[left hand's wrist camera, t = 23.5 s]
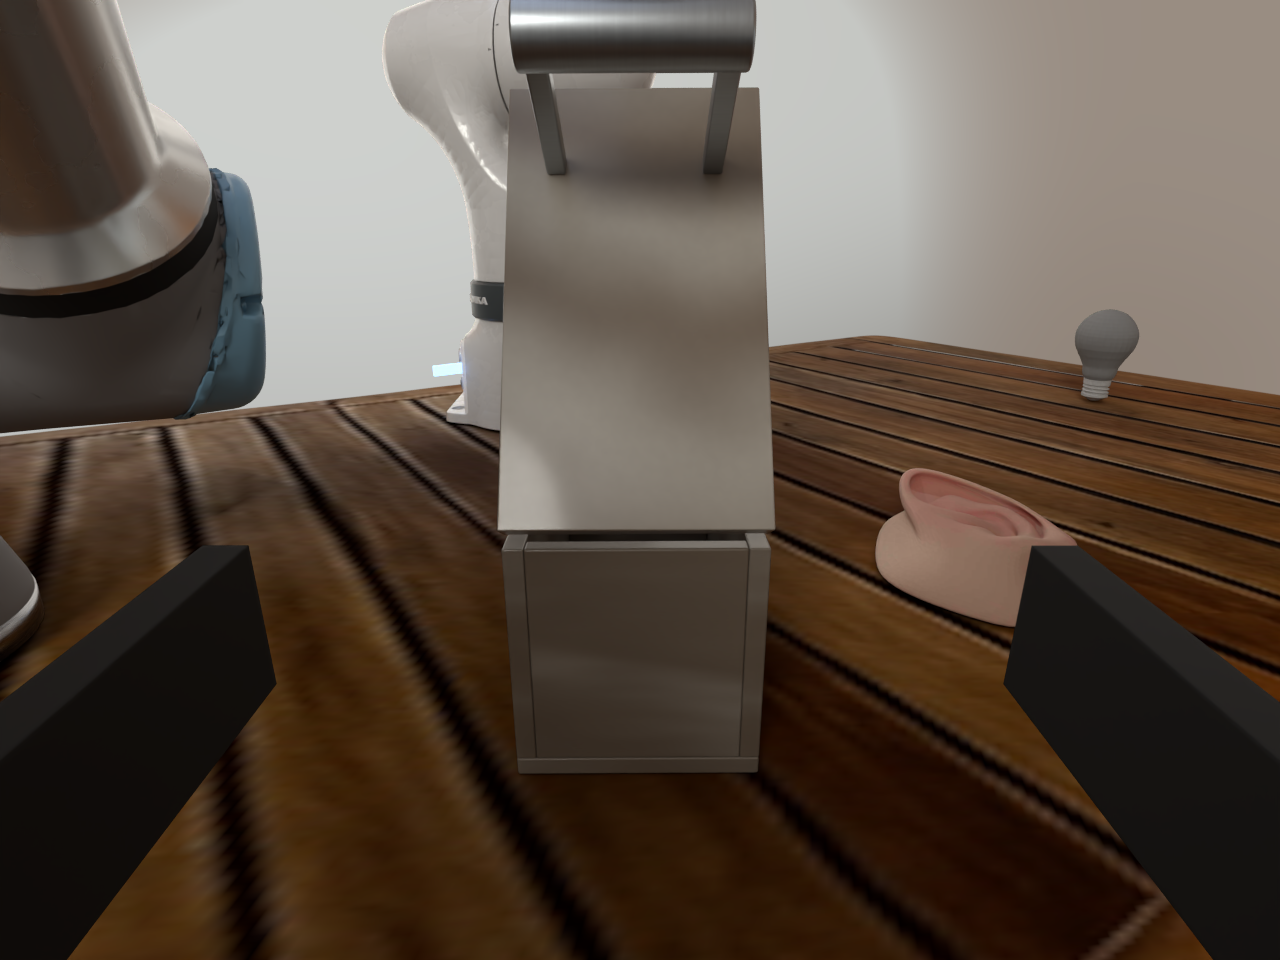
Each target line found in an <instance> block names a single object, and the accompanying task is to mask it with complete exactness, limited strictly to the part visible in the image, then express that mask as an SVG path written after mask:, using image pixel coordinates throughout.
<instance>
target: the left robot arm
mask: <svg viewBox="0 0 1280 960" xmlns="http://www.w3.org/2000/svg"><path fill="white" fill-rule="evenodd" d="M262 299H263V296H262V272H261V261H260V251H259V242H258V234H257V226H256V219H255V213H254V207H253V202H252V197H251V194H250V190H249V187H248V186H247V184H246V183H245V182H244V180H243V179H242V178H240V177H238V176H237V175H234V174H230V173H224V172H222V171H220V170H219V169H217V168H213V169H212V168H211V169H210V168H208V165H207V163H206V161H205V159H204V156H203V154H202V152H201V150H200V148H199V146H198V145H197V143H196V141H195V140H194V139H193V137H192V136H191V135H190V134H189V133H188V132H187V130H186V129H185V128H184V127H183V126H182V125H180V124H179V123H178V122H177V121H176V120H175V119H174V118H172V117H171V116H170V115H168V114H167V113H166V112H164V111H163V110H161V109H160V108H158V107H157V106H155V105H153V104H151V103H150V102H148V101H147V98H146V95H145V92H144V89H143V85H142V82H141V79H140V75H139V72H138V69H137V66H136V62H135V59H134V56H133V52H132V49H131V46H130V42H129V39H128V36H127V32H126V29H125V26H124V23H123V19H122V16H121V13H120V9H119V6H118V3H117V0H0V433H8V432H18V431H28V430H39V429H49V428H61V427H73V426H85V425H96V424H108V423H120V422H132V421H144V420H156V419H168V418H174V419H175V420H176V419H188V418H191V417H193V416H195V415H196V414H200V413H207V412H214V411H221V410H228V409H234V408H239V407H242V406H245V405H246V404H248V403H250V402H251V401H252V400H254V399H255V398H256V396H257V395H258V394H259V393H260V391H261V389H262V386H263V383H264V378H265V367H266V339H265V319H264V310H263V306H262V304H261V302H262ZM43 617H44V605H43V602H42V599H41V596H40V592H39V589H38V586H37V583H36V580H35V578H34V576H33V575H32V574H31V573H30V571H29V569H28V567H27V566H26V565H25V564H24V563H23V562H22V560H21V559H20V558H19V557H18V556H17V554H16V553H15V552H14V551H13V550H12V549H11V547H10V546H9V545H8V544H7V543H6V542H5V540H4V539H3V538H2V537H1V536H0V662H1V661H2V660H4V659H5V658H6V657H8V656H9V655H10V654H12V653H13V652H14V651H16V650H17V649H18V648H19V647H20V646H22V645H23V644H24V643H25V642H26V641H27V640H28V639H29V638H30V637H31V636H32V635H33V634H34V633H35V631H36V630H37V629H38V627H39V626H40V624H41V622H42V620H43ZM275 685H276V679H275V674H274V669H273V664H272V659H271V654H270V649H269V645H268V640H267V635H266V630H265V625H264V620H263V615H262V610H261V605H260V600H259V595H258V590H257V586H256V581H255V576H254V571H253V566H252V561H251V556H250V551H249V546H201V547H200V548H199V549H198V550H196V551H195V552H194V553H192V554H191V555H190V556H189V557H187V558H186V559H185V560H183V561H182V562H181V563H179V564H178V565H177V566H176V567H174V568H173V569H172V570H170V571H169V572H168V573H167V574H165V575H164V576H163V577H161V578H160V579H159V580H158V581H156V582H155V583H154V584H152V585H151V586H150V587H149V588H147V589H146V590H145V591H143V592H142V593H141V594H140V595H138V596H137V597H136V598H134V599H133V600H132V601H130V602H129V603H128V604H127V605H125V606H124V607H123V608H121V609H120V610H119V611H118V612H116V613H115V614H114V615H112V616H111V617H110V618H109V619H107V620H106V621H105V622H103V623H102V624H101V625H100V626H98V627H97V628H96V629H94V630H93V631H92V632H91V633H89V634H88V635H87V636H85V637H84V638H83V639H82V640H80V641H79V642H78V643H76V644H75V645H74V646H72V647H71V648H70V649H69V650H67V651H66V652H65V653H63V654H62V655H61V656H60V657H58V658H57V659H56V660H54V661H53V662H52V663H51V664H49V665H48V666H47V667H45V668H44V669H43V670H42V671H40V672H39V673H38V674H36V675H35V676H34V677H33V678H31V679H30V680H29V681H27V682H26V683H25V684H23V685H22V686H21V687H20V688H18V689H17V690H16V691H14V692H13V693H12V694H11V695H9V696H8V697H7V698H5V699H4V700H3V701H2V702H0V960H67V959H68V957H69V956H70V955H71V953H72V952H73V951H74V950H75V948H76V947H77V946H78V944H79V943H80V942H81V940H82V939H83V938H84V936H85V935H86V934H87V932H88V931H89V930H90V928H91V927H92V926H93V925H94V923H95V922H96V921H97V919H98V918H99V917H100V915H101V914H102V913H103V911H104V910H105V909H106V907H107V906H108V905H109V904H110V902H111V901H112V900H113V898H114V897H115V896H116V894H117V893H118V892H119V890H120V889H121V888H122V886H123V885H124V884H125V882H126V881H127V880H128V879H129V877H130V876H131V875H132V873H133V872H134V871H135V869H136V868H137V867H138V865H139V864H140V863H141V861H142V860H143V859H144V858H145V856H146V855H147V854H148V852H149V851H150V850H151V848H152V847H153V846H154V844H155V843H156V842H157V840H158V839H159V838H160V836H161V835H162V834H163V833H164V831H165V830H166V829H167V827H168V826H169V825H170V823H171V822H172V821H173V819H174V818H175V817H176V815H177V814H178V813H179V812H180V810H181V809H182V808H183V806H184V805H185V804H186V802H187V801H188V800H189V798H190V797H191V796H192V794H193V793H194V792H195V790H196V789H197V788H198V787H199V785H200V784H201V783H202V781H203V780H204V779H205V777H206V776H207V775H208V773H209V772H210V771H211V769H212V768H213V767H214V766H215V764H216V763H217V762H218V760H219V759H220V758H221V756H222V755H223V754H224V752H225V751H226V750H227V748H228V747H229V746H230V744H231V743H232V742H233V741H234V739H235V738H236V737H237V735H238V734H239V733H240V731H241V730H242V729H243V727H244V726H245V725H246V723H247V722H248V721H249V720H250V718H251V717H252V716H253V714H254V713H255V712H256V710H257V709H258V708H259V706H260V705H261V704H262V702H263V701H264V700H265V698H266V697H267V696H268V695H269V693H270V692H271V691H272V689H273V688H274V687H275ZM1004 685H1005V687H1006V688H1007V689H1008V691H1009V692H1010V693H1011V695H1012V696H1013V697H1014V698H1015V700H1016V701H1017V702H1018V704H1019V705H1020V706H1021V708H1022V709H1023V710H1024V712H1025V713H1026V714H1027V716H1028V717H1029V718H1030V720H1031V721H1032V722H1033V723H1034V725H1035V726H1036V727H1037V729H1038V730H1039V731H1040V733H1041V734H1042V735H1043V737H1044V738H1045V739H1046V741H1047V742H1048V743H1049V744H1050V746H1051V747H1052V748H1053V750H1054V751H1055V752H1056V754H1057V755H1058V756H1059V758H1060V759H1061V760H1062V762H1063V763H1064V764H1065V766H1066V767H1067V768H1068V769H1069V771H1070V772H1071V773H1072V775H1073V776H1074V777H1075V779H1076V780H1077V781H1078V783H1079V784H1080V785H1081V787H1082V788H1083V789H1084V790H1085V792H1086V793H1087V794H1088V796H1089V797H1090V798H1091V800H1092V801H1093V802H1094V804H1095V805H1096V806H1097V808H1098V809H1099V810H1100V812H1101V813H1102V814H1103V815H1104V817H1105V818H1106V819H1107V821H1108V822H1109V823H1110V825H1111V826H1112V827H1113V829H1114V830H1115V831H1116V833H1117V834H1118V835H1119V836H1120V838H1121V839H1122V840H1123V842H1124V843H1125V844H1126V846H1127V847H1128V848H1129V850H1130V851H1131V852H1132V854H1133V855H1134V856H1135V858H1136V859H1137V860H1138V861H1139V863H1140V864H1141V865H1142V867H1143V868H1144V869H1145V871H1146V872H1147V873H1148V875H1149V876H1150V877H1151V879H1152V880H1153V881H1154V882H1155V884H1156V885H1157V886H1158V888H1159V889H1160V890H1161V892H1162V893H1163V894H1164V896H1165V897H1166V898H1167V900H1168V901H1169V902H1170V904H1171V905H1172V906H1173V907H1174V909H1175V910H1176V911H1177V913H1178V914H1179V915H1180V917H1181V918H1182V919H1183V921H1184V922H1185V923H1186V925H1187V926H1188V927H1189V928H1190V930H1191V931H1192V932H1193V934H1194V935H1195V936H1196V938H1197V939H1198V940H1199V942H1200V943H1201V944H1202V946H1203V947H1204V948H1205V950H1206V951H1207V952H1208V953H1209V955H1210V956H1211V957H1212V959H1213V960H1280V702H1278V701H1277V700H1276V699H1275V698H1273V697H1272V696H1271V695H1269V694H1268V693H1267V692H1266V691H1264V690H1263V689H1262V688H1260V687H1259V686H1258V685H1257V684H1255V683H1254V682H1253V681H1251V680H1250V679H1249V678H1247V677H1246V676H1245V675H1244V674H1242V673H1241V672H1240V671H1238V670H1237V669H1236V668H1235V667H1233V666H1232V665H1231V664H1229V663H1228V662H1227V661H1226V660H1224V659H1223V658H1222V657H1220V656H1219V655H1218V654H1217V653H1215V652H1214V651H1213V650H1211V649H1210V648H1209V647H1208V646H1206V645H1205V644H1204V643H1202V642H1201V641H1200V640H1198V639H1197V638H1196V637H1195V636H1193V635H1192V634H1191V633H1189V632H1188V631H1187V630H1186V629H1184V628H1183V627H1182V626H1180V625H1179V624H1178V623H1177V622H1175V621H1174V620H1173V619H1171V618H1170V617H1169V616H1168V615H1166V614H1165V613H1164V612H1162V611H1161V610H1160V609H1159V608H1157V607H1156V606H1155V605H1153V604H1152V603H1151V602H1150V601H1148V600H1147V599H1146V598H1144V597H1143V596H1142V595H1140V594H1139V593H1138V592H1137V591H1135V590H1134V589H1133V588H1131V587H1130V586H1129V585H1128V584H1126V583H1125V582H1124V581H1122V580H1121V579H1120V578H1119V577H1117V576H1116V575H1115V574H1113V573H1112V572H1111V571H1110V570H1108V569H1107V568H1106V567H1104V566H1103V565H1102V564H1101V563H1099V562H1098V561H1097V560H1095V559H1094V558H1093V557H1091V556H1090V555H1089V554H1088V553H1086V552H1085V551H1084V550H1082V549H1081V548H1080V547H1079V546H1031V551H1030V556H1029V561H1028V566H1027V571H1026V576H1025V581H1024V586H1023V590H1022V595H1021V600H1020V605H1019V610H1018V615H1017V620H1016V625H1015V630H1014V635H1013V640H1012V645H1011V649H1010V654H1009V659H1008V664H1007V669H1006V674H1005V679H1004Z"/></svg>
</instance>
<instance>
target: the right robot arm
mask: <svg viewBox="0 0 1280 960" xmlns="http://www.w3.org/2000/svg"><path fill="white" fill-rule="evenodd" d="M508 7H509V0H426V1H423V2H420V3H417V4H415V5H412V6H410V7H407V8H404V9H402V10H399V11H397V12H396V13H395V14H394V15H393V16H392V18H391V19H390V21H389V23H388V26H387V28H386V31H385V35H384V39H383V47H382V61H383V69H384V73H385V77H386V80H387V83H388V86H389V88H390V90H391V92H392V94H393V96H394V98H395V99H396V101H397V102H398V104H399V105H400V106H401V108H402V109H403V110H404V111H405V112H406V113H407V114H408V115H409V116H410V117H411V118H412V119H413V120H415V121H416V122H417V123H418V124H420V125H421V126H422V127H423V128H424V129H425V130H426V131H427V132H429V134H430V135H431V136H432V137H433V138H434V139H435V140H436V142H437V143H438V144H439V146H440V147H441V149H442V150H443V151H444V153H445V155H446V156H447V158H448V160H449V161H450V163H451V165H452V167H453V169H454V171H455V174H456V176H457V178H458V181H459V183H460V186H461V190H462V192H463V196H464V200H465V205H466V210H467V217H468V223H469V231H470V238H471V247H472V256H473V268H474V280H472V281H471V293H470V301H471V303H472V315H473V316H474V317H475V318H476V319H475V322H474V325H473V327H472V328H471V330H470V331H469V332H468V333H467V334H466V335H465V337H464V339H462V340H461V348H460V349H459V363H454V364H446V365H437V366H433V374H434V376H441V375H450V374H458V373H462V378H461V386H462V389H463V393H462V394H461V396H460V397H459V398H458V399H457V400H456V401H455V402H454V404H453V405H452V406H451V407H450V408H449V409H448V411H447V421H448V422H453V423H463V424H472V425H476V426H479V427H483V428H487V429H493V430H500V407H501V372H502V337H503V302H504V266H505V231H506V196H507V161H508V126H509V91H510V89H529V88H528V83H527V79H526V74H519V73H517V72H516V70H515V67H514V64H513V60H512V55H511V48H510V39H509V26H508ZM552 75H553V81H554V87H555V89H597V88H652V86H653V83H654V80H655V76H656V73H572V74H552Z"/></svg>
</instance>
